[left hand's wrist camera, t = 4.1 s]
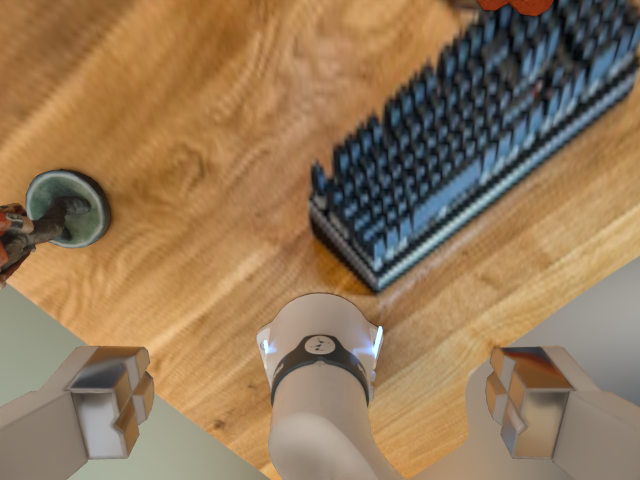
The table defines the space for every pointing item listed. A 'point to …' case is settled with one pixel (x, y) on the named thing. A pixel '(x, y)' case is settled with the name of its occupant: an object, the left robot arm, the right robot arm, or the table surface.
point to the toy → (518, 5)
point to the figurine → (52, 217)
